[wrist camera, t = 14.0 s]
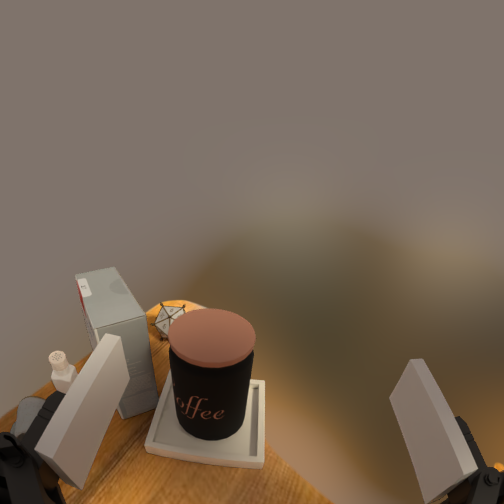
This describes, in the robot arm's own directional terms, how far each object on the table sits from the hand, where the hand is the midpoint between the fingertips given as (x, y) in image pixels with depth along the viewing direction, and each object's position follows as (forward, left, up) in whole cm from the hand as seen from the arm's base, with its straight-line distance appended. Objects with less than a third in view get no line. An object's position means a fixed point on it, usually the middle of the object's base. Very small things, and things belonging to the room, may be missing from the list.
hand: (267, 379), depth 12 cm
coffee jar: (+5, -19, -31) cm, 37 cm away
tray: (+5, -19, -32) cm, 38 cm away
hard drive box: (+21, -24, -32) cm, 45 cm away
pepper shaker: (+30, -18, -32) cm, 47 cm away
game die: (+16, -40, -32) cm, 54 cm away
